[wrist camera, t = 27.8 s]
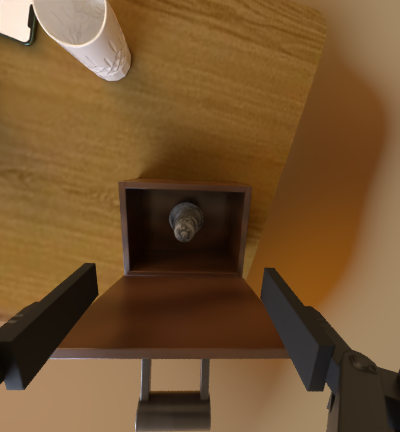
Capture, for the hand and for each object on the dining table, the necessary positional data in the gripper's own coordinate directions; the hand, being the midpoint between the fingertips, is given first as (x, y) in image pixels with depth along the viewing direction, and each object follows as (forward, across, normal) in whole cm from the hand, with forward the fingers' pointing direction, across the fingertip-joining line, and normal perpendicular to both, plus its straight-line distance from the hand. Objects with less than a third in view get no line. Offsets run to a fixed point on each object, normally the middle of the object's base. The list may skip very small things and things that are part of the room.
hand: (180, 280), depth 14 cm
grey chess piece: (+22, 0, 0) cm, 22 cm away
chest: (+22, 0, -1) cm, 23 cm away
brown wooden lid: (+6, 0, -6) cm, 8 cm away
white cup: (+22, -13, +25) cm, 36 cm away
